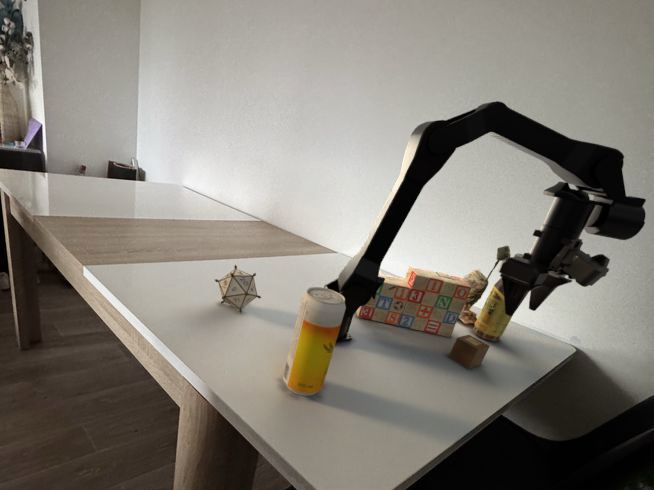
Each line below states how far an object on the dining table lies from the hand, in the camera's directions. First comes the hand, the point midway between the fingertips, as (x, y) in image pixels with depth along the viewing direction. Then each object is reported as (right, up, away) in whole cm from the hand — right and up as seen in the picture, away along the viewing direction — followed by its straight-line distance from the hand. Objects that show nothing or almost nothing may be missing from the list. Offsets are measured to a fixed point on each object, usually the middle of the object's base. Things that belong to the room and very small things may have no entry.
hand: (520, 312), depth 72 cm
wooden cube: (-8, -10, +6) cm, 13 cm away
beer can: (-41, -12, -13) cm, 45 cm away
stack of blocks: (-17, -2, +18) cm, 24 cm away
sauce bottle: (+4, -5, +20) cm, 21 cm away
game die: (-54, +1, +8) cm, 54 cm away
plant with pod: (+2, -1, +28) cm, 28 cm away
